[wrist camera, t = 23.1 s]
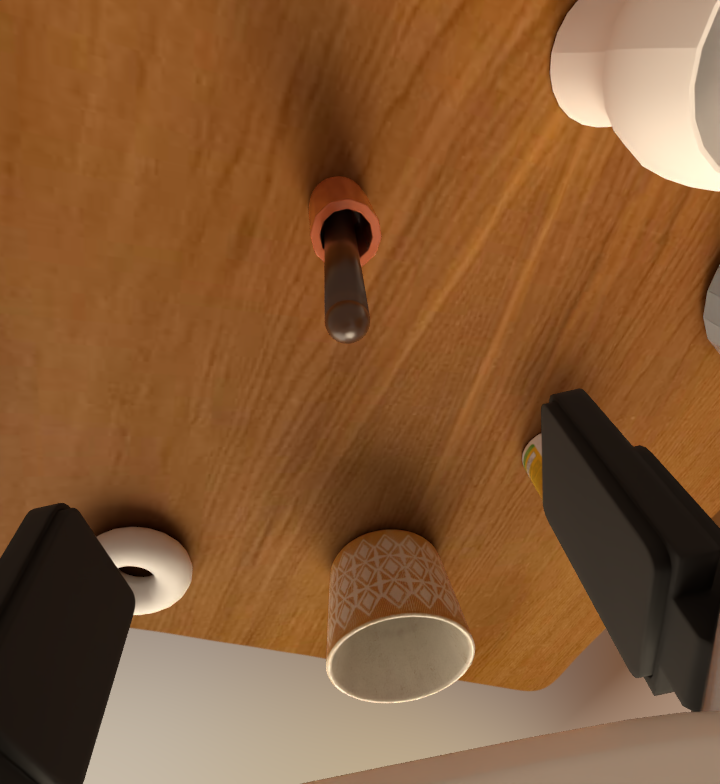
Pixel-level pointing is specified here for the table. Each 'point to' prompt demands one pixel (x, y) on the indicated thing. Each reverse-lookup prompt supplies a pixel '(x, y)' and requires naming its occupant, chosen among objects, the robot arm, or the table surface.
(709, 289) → the bowl
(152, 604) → the donut
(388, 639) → the planter
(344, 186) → the holder
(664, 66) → the cup
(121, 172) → the table surface
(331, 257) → the stick
